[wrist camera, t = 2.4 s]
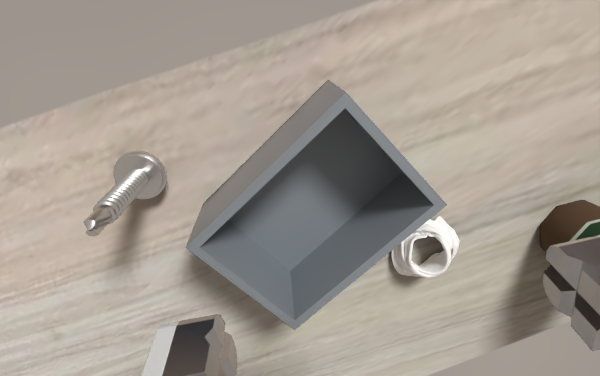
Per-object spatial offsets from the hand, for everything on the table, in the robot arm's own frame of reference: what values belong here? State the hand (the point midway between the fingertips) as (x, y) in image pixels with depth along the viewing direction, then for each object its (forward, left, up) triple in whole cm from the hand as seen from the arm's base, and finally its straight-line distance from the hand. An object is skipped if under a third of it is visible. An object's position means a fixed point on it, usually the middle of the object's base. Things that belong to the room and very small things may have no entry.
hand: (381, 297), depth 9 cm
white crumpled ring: (-1, -21, -29) cm, 36 cm away
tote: (-5, -7, -29) cm, 30 cm away
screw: (-15, +6, -29) cm, 34 cm away
